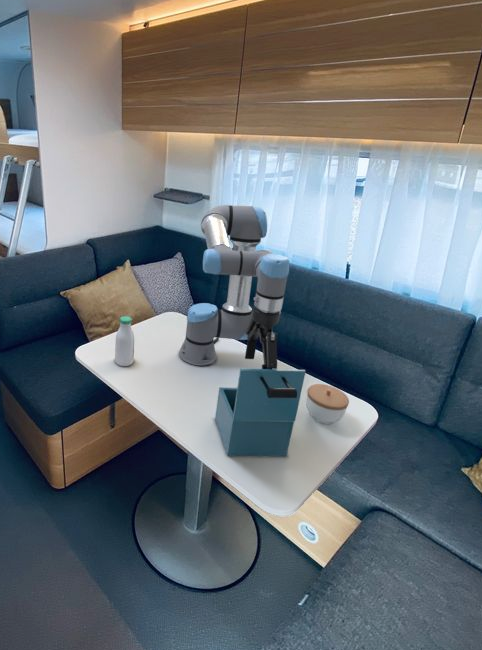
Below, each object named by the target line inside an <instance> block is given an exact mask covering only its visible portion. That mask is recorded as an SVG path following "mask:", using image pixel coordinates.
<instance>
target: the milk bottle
mask: <svg viewBox="0 0 482 650" xmlns="http://www.w3.org/2000/svg"><path fill="white" fill-rule="evenodd" d="M134 333H135V332H134V331H133V328H132V318H131V316H127V315H125V316H121V317H119V328H118V330H117V332H116V334H115V342H114V343H115V345H114V351H115V352H114V361H115V364H116V365H118V366H121V367H128V366H131V365H133V363H134V359H135V334H134Z"/></svg>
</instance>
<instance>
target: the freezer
mask: <svg viewBox="0 0 482 650" xmlns="http://www.w3.org/2000/svg"><path fill="white" fill-rule="evenodd" d="M236 394H237V387H218V395H217V401H216V409H215V415H214V416H215V417H214V421H215V424H216V427H217V429H218V432H219V436H220V438H221V441H222V444H223V447H224V449H225V453H226V456H228V457H287V456H288V453H289V452H288V451H289V447H290V442H291V437H292V433H293V428H294V424H295V421H234V420H233V414H234V407H235V400H236Z"/></svg>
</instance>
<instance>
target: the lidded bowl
mask: <svg viewBox="0 0 482 650" xmlns="http://www.w3.org/2000/svg"><path fill="white" fill-rule="evenodd" d="M305 403H306V408H307V409H306V410H307V411H308V412H309V414H310V416H311V417H312V418H313V419H314V420H315V421H316V422H318V423H319V424H323V425H331V424H334V423H336V422H339V421H340V420H342V418H343V417H344V416H345V414H346V413H347V409H348V407H349V403H350V400H349V398H348V396H347V395H346V394H345V392H343V391H342V390H340V389H339V388H337V387H334V386H332V385H328V384H323V383H316V384H311V385H310V386H309V387H308V388H307V390H306V400H305Z"/></svg>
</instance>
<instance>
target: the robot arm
mask: <svg viewBox="0 0 482 650" xmlns="http://www.w3.org/2000/svg"><path fill="white" fill-rule="evenodd" d="M267 216H268V215H267V212H266V210H265V208H263V207H261V206H254V205H230V204H222V205H218V206H214V207H213V208H211V209H210V210H208V211H207V212H206V213H205V214H204V215H203V216H202V218H201V222H200V229H201V232H202V234H203V235H204V236H205V241H206V247H207V249H205V250H204V251H203V257H202V271H203V272H204V273H205V274H211V275H214V276H215V275H222V276H223V275H224V276H229V279H228V289H227V298H226V302H225V303H223V304H222V307H221V309H218V307H217V305H215V304H211V303H208V302H202V303H195V304H193V305H192V306H190V307H189V308H188V310H187V311H188V312H187V316H186V327H185V328H186V329H185V338H184V341H183V342H182V345H181V346H180V350H179V358H180V359H181V360H182V361H183V362H185V363H187V364H188V365H189V364H190V365H192V366H198V367H205V366H209V365H212V364H214V363H215V362H216V359H217V352H216V348H215V344H214V343H216V342H217V341H218V340H219V339H229V340H237V341H239V340H240V341H242V340H243V341H245V340H246V341H247V343H246V349H245V350H246V351H245V355H244V359H245V360H255V356H256V351H257V344H258V340H259V343H260V344H261V347H262V348H261V349H262V356H263V363H262V364H261V369H278V343H277V341H278V333H276V332H274V328H273V327H274V326H276V325H278V324H279V322H280V319H281V314H282V312H281V311H282V309H283V304H284V298H285V291H286V288H287V287H286V285H287V281H288V276H289V273H290V259H289V258H288V257H286V256H284V255H281V254H277V253H273V252H272V251H271V250H269V249H266V248H258V249H256V248H257V246H258V245H260V244H261V242H262V241H261V240H262V239H264V238H266V237H267V234H268V218H267ZM231 243H232V244H231ZM253 277H254V278H257V283H256V290H255V296H253V301H254V303H253V307H251V306H250V296H251V289H252V281H253Z"/></svg>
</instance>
